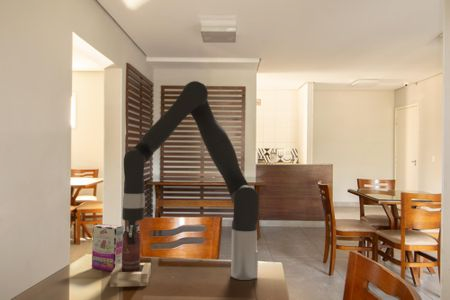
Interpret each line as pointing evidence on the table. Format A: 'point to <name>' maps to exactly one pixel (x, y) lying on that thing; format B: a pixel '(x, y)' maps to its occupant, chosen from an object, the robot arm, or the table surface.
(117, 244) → the candy bar box
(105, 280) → the table surface
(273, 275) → the table surface
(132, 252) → the can
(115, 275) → the frame
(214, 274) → the table surface
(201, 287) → the table surface
